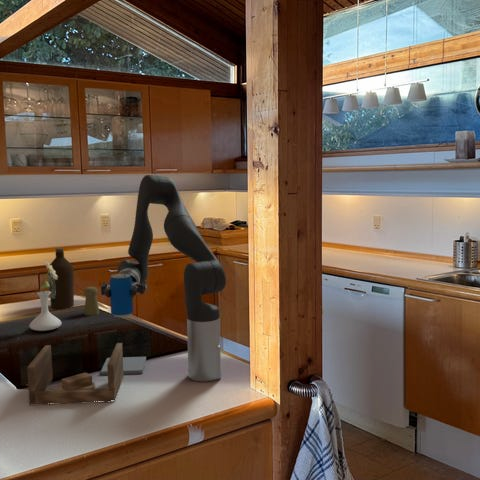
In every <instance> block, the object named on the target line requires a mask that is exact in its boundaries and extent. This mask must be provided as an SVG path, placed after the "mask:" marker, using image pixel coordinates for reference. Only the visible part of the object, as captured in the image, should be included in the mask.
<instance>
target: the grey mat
mask: <svg viewBox="0 0 480 480" xmlns="http://www.w3.org/2000/svg"><path fill="white" fill-rule="evenodd" d="M109 360H110V357H107V358H106V360H105V362H103V363H104V364H103V366H102V368H101V370H100V376H105V375H107V376H108V370H107V364H108V362H109ZM146 362H147V356H125V357H124V356H123V375H132V374H133V375H134V374H135V375H136V374H137V375H138V374H143V373H144V371H145V370H144V369H145V365H146Z"/></svg>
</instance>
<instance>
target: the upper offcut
mask: <svg viewBox="0 0 480 480" xmlns="http://www.w3.org/2000/svg"><path fill="white" fill-rule="evenodd" d="M92 382H93V375H92V374H90V373H88V372H86V371H84V372H82V373H78V374H75V375H71V376H68V377H65V378H61V385H62V388H63V389H65V390H76V389H79V388H82V387H86V386H89V385H92Z"/></svg>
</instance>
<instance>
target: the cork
mask: <svg viewBox="0 0 480 480" xmlns="http://www.w3.org/2000/svg"><path fill="white" fill-rule="evenodd" d="M98 291H99V290H98V289H97V287H95V286H88V287H85V289H84V295H85V302H84V303H85V304H84V314H83V315H85V316H88V317H89V316H90V317H91V316H97V315H99V314H100V308H99V303H98V297H97V294H98Z"/></svg>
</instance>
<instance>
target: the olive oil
mask: <svg viewBox="0 0 480 480" xmlns="http://www.w3.org/2000/svg"><path fill="white" fill-rule="evenodd" d="M49 265H52V268H53V270H55V271H56V273H55V274H56V275H57V276H58V277H57V280H56V279H54V278H53V277H52V276H51V274H50V273H48V272H47V273H48V275H47V282H48V283H49V285H50V286H49V287H48V288H49V289H48V291H50V292H51V293H50V295H49V298H50V300H49V301H50V307H51V308H52V309H57V310H63V309H68V308H72V307H74V305H75V303H74V298H75V297H74V296H75V295H74V293H75V292H74V286H75V285H74V283H75V281H74V276H75V273H74V271H75V270H74V266H73V264H72V263H71V262H70V261H68V259H66V257H65V251H64V248H63V247H59V248H57V247H56V248H55V257H54V259H53V260H52V262H51V263H49Z"/></svg>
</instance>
